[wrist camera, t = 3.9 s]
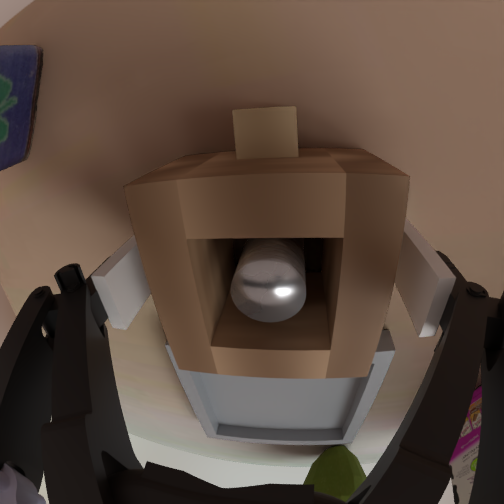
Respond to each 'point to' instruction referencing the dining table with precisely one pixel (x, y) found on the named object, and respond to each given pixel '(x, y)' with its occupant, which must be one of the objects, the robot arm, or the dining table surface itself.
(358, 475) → the apple
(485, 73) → the dining table surface
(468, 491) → the candy bar box
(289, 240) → the silver capsule
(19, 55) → the flask
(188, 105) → the dining table surface
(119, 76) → the dining table surface
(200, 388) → the tray
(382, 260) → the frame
